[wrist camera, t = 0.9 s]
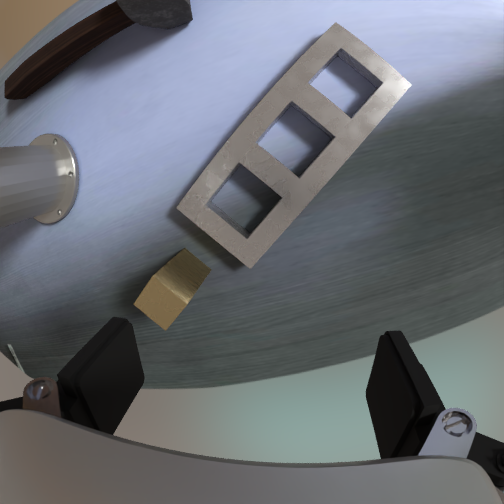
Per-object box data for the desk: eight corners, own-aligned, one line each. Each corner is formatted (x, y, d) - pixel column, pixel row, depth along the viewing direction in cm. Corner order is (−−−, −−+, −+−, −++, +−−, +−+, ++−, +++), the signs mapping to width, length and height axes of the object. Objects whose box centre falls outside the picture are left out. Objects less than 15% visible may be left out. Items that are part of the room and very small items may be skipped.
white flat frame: (253, 261, 34) (250, 269, 32) (184, 204, 33) (176, 208, 31) (403, 89, 26) (411, 85, 24) (332, 31, 25) (335, 22, 23)
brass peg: (192, 292, 36) (165, 330, 28) (167, 271, 36) (133, 304, 27) (211, 269, 35) (187, 304, 26) (184, 247, 35) (152, 275, 26)
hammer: (41, 105, 35) (206, 20, 26) (-15, 106, 24) (157, -22, 16) (40, 80, 33) (201, -9, 25) (-14, 77, 23) (154, -53, 14)
